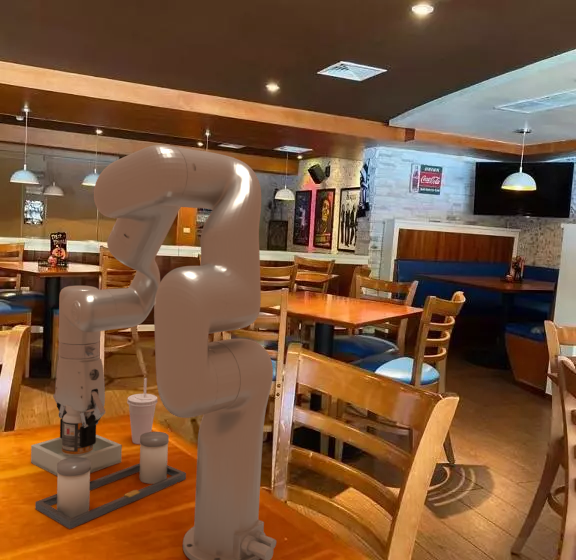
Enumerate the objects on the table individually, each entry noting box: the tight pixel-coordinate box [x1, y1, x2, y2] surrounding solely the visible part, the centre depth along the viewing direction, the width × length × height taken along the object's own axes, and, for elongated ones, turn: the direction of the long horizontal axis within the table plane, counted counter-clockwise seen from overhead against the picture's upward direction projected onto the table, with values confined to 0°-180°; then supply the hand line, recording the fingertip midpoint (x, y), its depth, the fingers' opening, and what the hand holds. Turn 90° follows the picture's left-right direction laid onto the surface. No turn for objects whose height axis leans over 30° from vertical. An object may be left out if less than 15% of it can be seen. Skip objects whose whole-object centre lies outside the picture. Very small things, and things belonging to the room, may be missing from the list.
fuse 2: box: [138, 431, 170, 485], centre depth 111 cm, size 5×5×8 cm
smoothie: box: [126, 377, 158, 445], centre depth 128 cm, size 6×6×14 cm
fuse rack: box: [34, 462, 187, 530], centre depth 104 cm, size 10×25×1 cm, turn 144°
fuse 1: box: [56, 457, 91, 518], centre depth 97 cm, size 5×5×8 cm
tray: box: [30, 434, 123, 477], centre depth 116 cm, size 12×12×4 cm
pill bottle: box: [61, 405, 93, 457], centre depth 115 cm, size 6×6×10 cm
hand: (77, 440), depth 115 cm, fingers closed on pill bottle, 5 cm apart
